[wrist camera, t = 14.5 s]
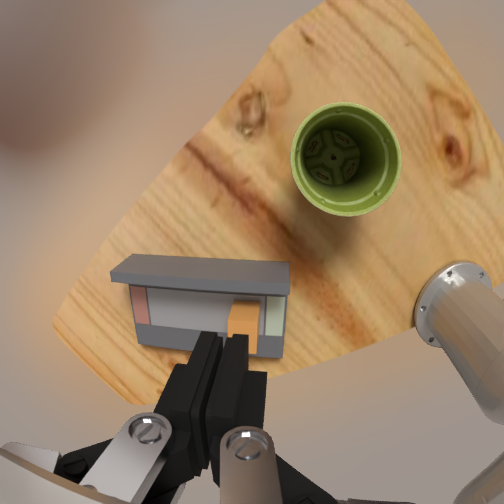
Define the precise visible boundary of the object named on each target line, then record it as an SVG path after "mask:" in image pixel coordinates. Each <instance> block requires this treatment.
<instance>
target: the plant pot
mask: <svg viewBox="0 0 504 504" xmlns="http://www.w3.org/2000/svg"><path fill="white" fill-rule="evenodd" d="M338 135H340V136H342V137H343V138H346V139H347V140H348V143H346V142H344V141H343V140H341V139H340V138H338V137H337V136H338ZM315 141H318V143H317V145H316V146H315V147H314V150H313V152H311V151H310V148H311V146H312V145H313V143H314V142H315ZM332 155H334V156H335V157H336V158H335V160H332V159H331V156H332ZM401 162H402V160H401V151H400V146H399V143H398V140H397V138H396V136H395V134H394V132H393V130H392V129H391V127H390V126H389V124H388V123H387V122H386V121H385V120H384V119H383V118H382V117H381V116H380V115H378V114H377V113H375V112H374V111H372V110H371V109H369V108H367V107H364V106H362V105H359V104H355V103H349V102H339V103H332V104H328V105H325V106H322V107H320V108H318V109H316V110H315V111H313V112H312V113H311V114H310V115H308V116H307V117H306V118H305V119H304V121H303V122H302V123H301V124H300V126H299V128H298V129H297V131H296V133H295V136H294V138H293V142H292V146H291V152H290V164H291V170H292V174H293V177H294V180H295V182H296V185H297V187H298V188H299V190H300V191H301V193H302V194H303V195H304V197H305V198H306V199H307V200H308V201H309V202H311V203H312V204H313V205H314V206H316V207H317V208H319V209H321V210H323V211H324V212H327V213H329V214H333V215H337V216H345V217H347V216H348V217H351V216H359V215H362V214H366V213H368V212H371V211H373V210H375V209H376V208H378V207H379V206H381V205H382V204H383V203H384V202H385V201H386V200H387V199H388V198H389V197H390V195H391V194H392V193H393V191H394V189H395V187H396V185H397V183H398V180H399V177H400V172H401ZM353 163H354V168H353V171H352V172H351V173H350V174H348V173H347V171H348V170H349V169H350V168H351V166H352V165H353ZM317 172H319V173H320V174H322V175H323V176H325V177H327V178H328V179H327V180H325V179H323V178H321V177H319V176H318V174H317Z"/></svg>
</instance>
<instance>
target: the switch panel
mask: <svg viewBox="0 0 504 504" xmlns="http://www.w3.org/2000/svg"><path fill="white" fill-rule="evenodd" d="M110 275H111V282H118V283H128V284H129V290H130V297H131V304H132V310H133V316H134V322H135V328H136V334H137V339H138V344H143V345H150V346H157V347H164V348H172V349H179V350H188V351H193V349H194V347H195V344H196V342H197V340H198V337H199V335H200V333H201V331H210V332H217V334H218V336H221V337H223V348H224V345H225V341H226V338H227V337H228V317H229V314H230V310H231V307H232V304H233V301H234V300H242V301H259V302H260V328H259V338H258V346H257V353H256V354H249V356H252V357H268V358H282V356H283V345H284V333H285V321H286V308H287V295H289V293H290V271H289V262H276V261H256V260H236V259H216V258H198V257H179V256H161V255H143V254H132V255H131V256H129V257H128V258H127V259H125V260H124V261H123V262H122V263H120V264H119V265H118V266H116V267H115V268H114V269H113V270H111V271H110Z"/></svg>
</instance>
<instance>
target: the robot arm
mask: <svg viewBox="0 0 504 504" xmlns="http://www.w3.org/2000/svg"><path fill="white" fill-rule="evenodd" d="M414 322H415V326H416V330H417V332H418V333H419V335H420V337H421V338H422V339H423V340H424V341H425V342H426V343H427V344H429V345H431V346H434V347H439V348H443V350H444V351H445V353H446V354H447V356H448V357H449V358H450V360H451V362H452V363H453V365H454V366H455V367H456V369H457V371H458V372H459V374H460V375H461V377H462V379H463V380H464V382H465V384H466V385H467V387H468V388H469V390H470V392H471V393H472V395H473V397H474V398H475V400H476V402H477V403H478V405H479V407H480V408H481V410H482V411H483V413H484V414H485V416H486V417H488V418H489V419H490V420H491V421H493V422H495V423H498V424H503V425H504V299H501V298H500V297H499V296H498V295H497V294H495V293H494V292H493V291H492V284H491V280H490V278H489V276H488V274H487V273H486V271H485V270H484V269H483V268H482V267H480V266H479V265H477V264H476V263H473V262H470V261H458V262H454V263H451V264H449V265H447V266H445V267H443V268H442V269H440V270H439V271H438V272H437V273H435V274H434V275H433V276H432V277H431V278H430V279H429V281H428V282H427V283H426V284H425V286H424V288H423V289H422V291H421V293H420V295H419V297H418V299H417V303H416V306H415V312H414ZM248 357H249V335H247V334H233V335H232V337H227V338H226V341H225V345H224V348H223V337H221V336H218V334H217V332H210V331H201V333H200V335H199V337H198V340H197V342H196V344H195V347H194V349H193V352H192V354H191V356H190V359H189V361H188V363H187V364H179V363H177V364H176V365H175V367H174V369H173V371H172V373H171V375H170V377H169V379H168V381H167V384H166V386H165V388H164V390H163V392H162V394H161V396H160V399H159V401H158V403H157V405H156V408H155V409H154V412H153V413H151V412H150V413H141V414H137V415H135V416H133V417H131V418H130V419H129V420H128V421H127V422H126V423H125V424H124V426H123V427H122V428H121V430H120V431H119V432H118V434H117V435H116V437H114V438H112V439H109V440H107V441H104V442H101V443H98V444H95V445H92V446H89V447H86V448H82V449H79V450H76V451H73V452H70V453H67V454H65V455H61V454H60V452H57V451H52V450H47V449H42V448H38V447H33V446H29V445H25V444H21V443H17V442H10V443H6V444H5V445H3V446H2V447H1V448H0V504H177V502H178V500H179V498H180V496H181V494H182V492H183V490H184V488H185V485H186V482H187V481H189V480H191V479H193V478H194V476H200V475H201V471H202V469H208V466H209V462H211V469H212V474H213V480H214V482H215V483H216V484H217V485H218V487H219V488H220V504H415V503H410V502H388V501H371V500H359V499H350V498H348V500H347V501H344V500H336V499H334V498H333V497H332V496H331V495H330V494H328V493H327V492H326V491H324V490H323V489H321V488H320V487H319V486H317V485H316V484H314V483H313V482H311V481H310V480H309V479H308V478H306V477H305V476H304V475H302V474H301V473H300V472H298V471H297V470H296V469H294V468H293V467H292V466H291V465H289V464H288V463H287V462H285V461H284V460H283V459H282V458H281V457H279V456H278V455H277V454H276V453H275V448H274V443H273V440H272V438H271V436H269V434H268V433H267V432H265V431H264V430H263V422H264V410H265V398H266V384H267V372H261V371H248ZM453 504H504V452H503V453H502V454H501V455H500V456H499V457H498V458H497V459H496V460H494V461H493V462H492V463H491V464H490V465H489V466H488V467H487V468H486V469H484V470H483V471H482V472H481V473H480V474H479V475H478V476H476V477H475V478H474V479H473V480H472V481H471V482H469V484H467V485H466V486H465V487H464V488H463V489H462V490H461V492H460V493H459V494H458V496H457V497H456V499H455V500H454V502H453Z"/></svg>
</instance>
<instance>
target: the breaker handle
mask: <svg viewBox="0 0 504 504" xmlns="http://www.w3.org/2000/svg"><path fill="white" fill-rule="evenodd" d="M259 328H260V302H259V301H242V300H234V301H233V304H232V307H231V310H230V314H229V317H228V337H232V335H233V334H247V335H249V354H256V353H257V346H258V338H259Z"/></svg>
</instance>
